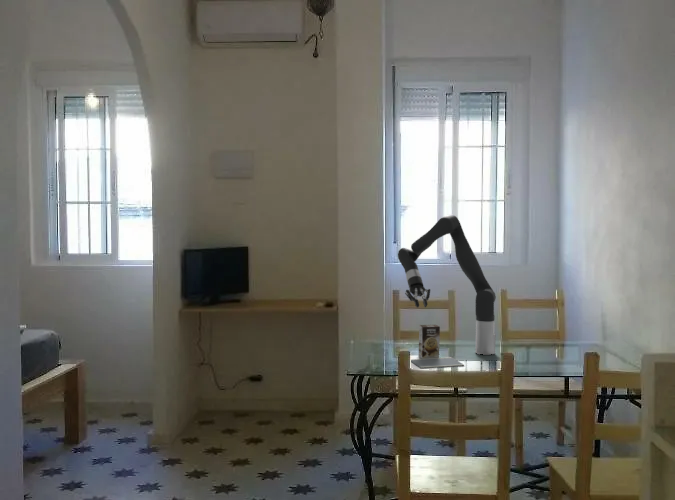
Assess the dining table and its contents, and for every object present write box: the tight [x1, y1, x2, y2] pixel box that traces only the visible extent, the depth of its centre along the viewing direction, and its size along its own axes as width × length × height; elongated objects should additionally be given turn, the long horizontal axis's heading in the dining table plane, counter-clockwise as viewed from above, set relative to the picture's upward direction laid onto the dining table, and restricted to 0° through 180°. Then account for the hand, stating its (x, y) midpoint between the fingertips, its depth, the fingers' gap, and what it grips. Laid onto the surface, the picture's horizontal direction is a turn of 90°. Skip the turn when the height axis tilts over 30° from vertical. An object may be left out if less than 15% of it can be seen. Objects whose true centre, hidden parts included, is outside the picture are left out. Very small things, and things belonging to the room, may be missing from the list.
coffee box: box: [418, 324, 441, 359], centre depth 386 cm, size 9×6×16 cm
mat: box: [410, 356, 465, 370], centre depth 374 cm, size 22×16×1 cm
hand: (422, 306), depth 395 cm, fingers open, 3 cm apart
